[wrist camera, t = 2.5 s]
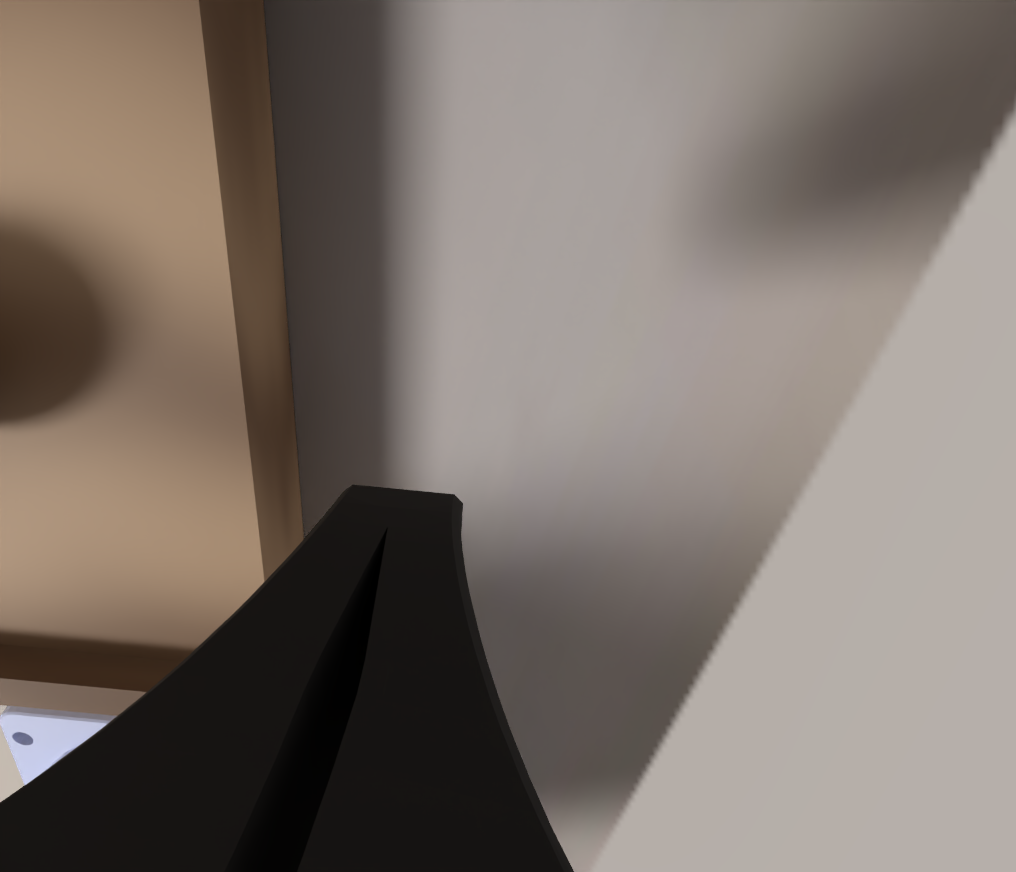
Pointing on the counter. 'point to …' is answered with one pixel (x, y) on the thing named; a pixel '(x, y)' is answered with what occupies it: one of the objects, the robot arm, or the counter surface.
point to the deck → (136, 342)
